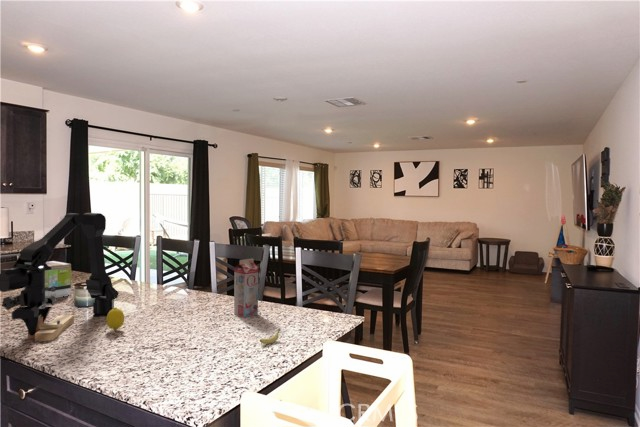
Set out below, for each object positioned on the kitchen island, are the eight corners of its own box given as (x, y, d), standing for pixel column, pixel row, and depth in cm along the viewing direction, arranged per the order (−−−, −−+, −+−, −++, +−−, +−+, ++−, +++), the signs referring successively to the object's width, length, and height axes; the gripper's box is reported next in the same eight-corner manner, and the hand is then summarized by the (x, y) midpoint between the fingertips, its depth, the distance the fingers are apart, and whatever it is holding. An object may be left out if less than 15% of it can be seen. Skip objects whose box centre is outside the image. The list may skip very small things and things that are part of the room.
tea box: (72, 295, 195) (71, 263, 194) (48, 299, 186) (48, 266, 185) (55, 290, 203) (55, 260, 202) (31, 294, 194) (31, 262, 194)
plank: (74, 321, 156) (73, 315, 156) (52, 340, 136) (52, 332, 136) (58, 322, 155) (58, 315, 154) (35, 341, 135) (34, 333, 135)
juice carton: (257, 314, 170) (258, 259, 169) (244, 317, 165) (244, 261, 164) (247, 310, 174) (248, 257, 173) (234, 314, 169) (234, 259, 168)
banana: (278, 339, 141) (278, 327, 141) (281, 340, 140) (281, 328, 140) (258, 345, 135) (258, 333, 135) (262, 346, 134) (262, 334, 134)
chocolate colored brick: (63, 333, 143) (63, 315, 143) (58, 337, 139) (58, 318, 139) (33, 334, 141) (32, 316, 141) (27, 338, 137) (27, 320, 137)
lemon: (106, 334, 143) (106, 310, 143) (106, 329, 148) (106, 306, 148) (124, 331, 146) (124, 308, 145) (123, 327, 150) (123, 304, 150)
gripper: (20, 280, 146) (20, 325, 147) (-9, 292, 128) (-8, 344, 129) (56, 279, 149) (56, 323, 149) (33, 291, 130) (33, 341, 131)
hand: (35, 332), depth 140 cm, fingers open, 5 cm apart
